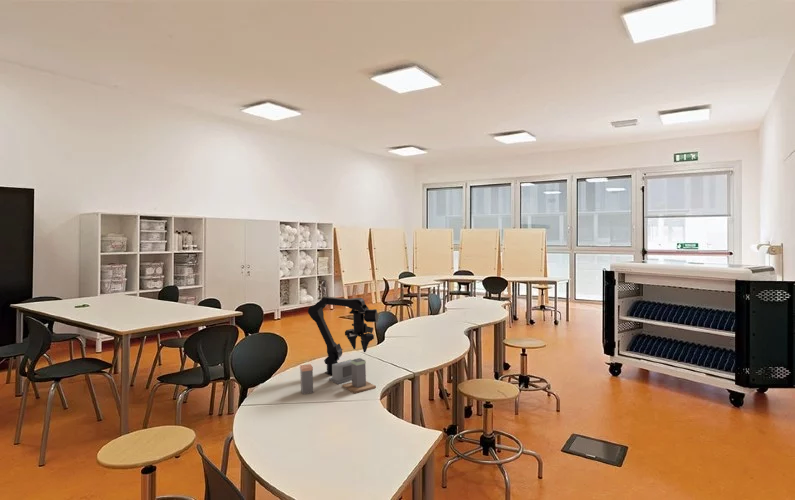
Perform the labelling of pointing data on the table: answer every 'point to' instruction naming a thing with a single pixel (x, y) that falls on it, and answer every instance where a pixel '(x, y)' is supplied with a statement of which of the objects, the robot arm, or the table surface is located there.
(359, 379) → the block
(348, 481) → the table surface
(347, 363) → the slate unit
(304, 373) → the block
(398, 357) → the table surface
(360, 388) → the walnut pad
